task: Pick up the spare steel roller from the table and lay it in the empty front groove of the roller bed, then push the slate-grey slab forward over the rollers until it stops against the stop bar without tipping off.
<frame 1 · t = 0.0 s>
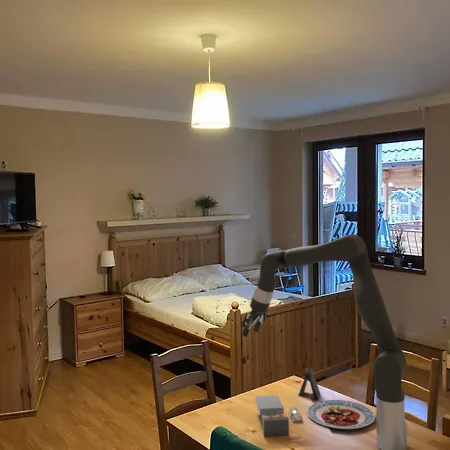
hand: (250, 333, 203), 31 cm above the table, tool tilted 20°, fingers open, 8 cm apart
ceramic plate: (340, 418, 195), on the table
roller middle: (270, 421, 191), point 1 cm above the table, touching roller bed, slab
stop bar: (275, 437, 180), on the table
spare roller: (295, 420, 193), on the table
slab: (269, 408, 193), point 5 cm above the table, touching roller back, roller middle
roller bed: (270, 424, 191), on the table
grey a-frame stand: (309, 397, 216), on the table
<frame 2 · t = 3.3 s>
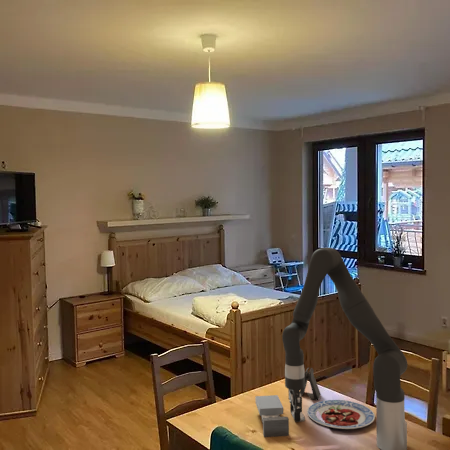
hand: (295, 416, 193), 1 cm above the table, tool pointing down, fingers closed on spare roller, 6 cm apart
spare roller: (295, 419, 193), on the table, tilted 31°, touching gripper
everything else where it was.
when the fingers open (4 cm above the table, at t = 9.4 s): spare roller drops 1 cm, resting on roller bed.
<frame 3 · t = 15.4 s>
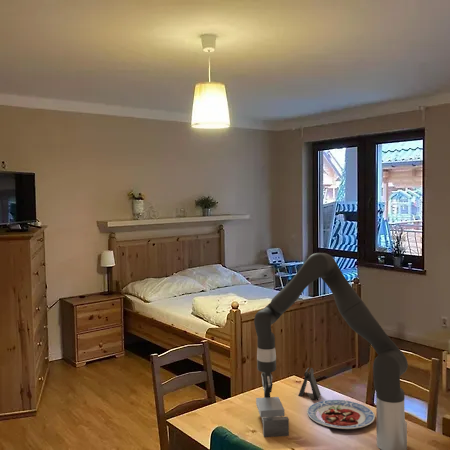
hand: (267, 400, 200), 5 cm above the table, tool pointing down, fingers closed
roller middle: (270, 420, 191), point 1 cm above the table, tilted 24°, touching roller bed, slab
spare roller: (274, 428, 184), point 1 cm above the table, tilted 17°, touching roller bed
slab: (269, 409, 192), point 5 cm above the table, touching gripper, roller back, roller middle
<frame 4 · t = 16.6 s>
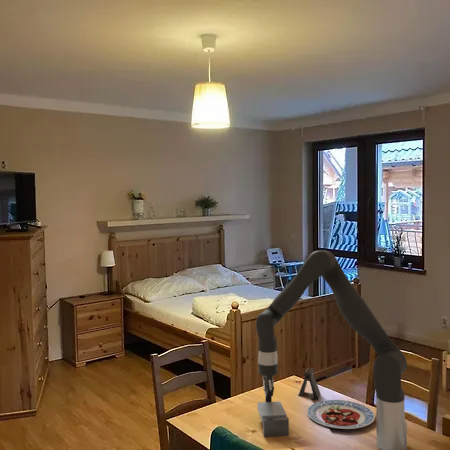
hand: (268, 404, 195), 6 cm above the table, tool pointing down, fingers closed
roller middle: (270, 417, 192), point 2 cm above the table, tilted 59°, touching roller bed, slab
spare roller: (273, 428, 185), point 1 cm above the table, tilted 20°, touching roller bed, slab
slab: (271, 414, 187), point 5 cm above the table, touching roller middle, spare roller
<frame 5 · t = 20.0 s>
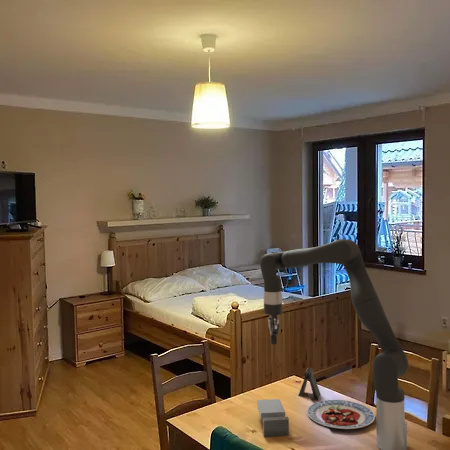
hand: (273, 343, 204), 27 cm above the table, tool pointing down, fingers closed
roller middle: (270, 419, 192), point 1 cm above the table, tilted 26°, touching roller bed, slab
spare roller: (273, 428, 185), point 1 cm above the table, tilted 13°, touching roller bed, slab
slab: (270, 412, 190), point 5 cm above the table, touching roller middle, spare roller
at the end: slab 2.2 cm from the target spot, point 5.0 cm above the table; slab tilted 0°; slab touching roller middle, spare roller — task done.
